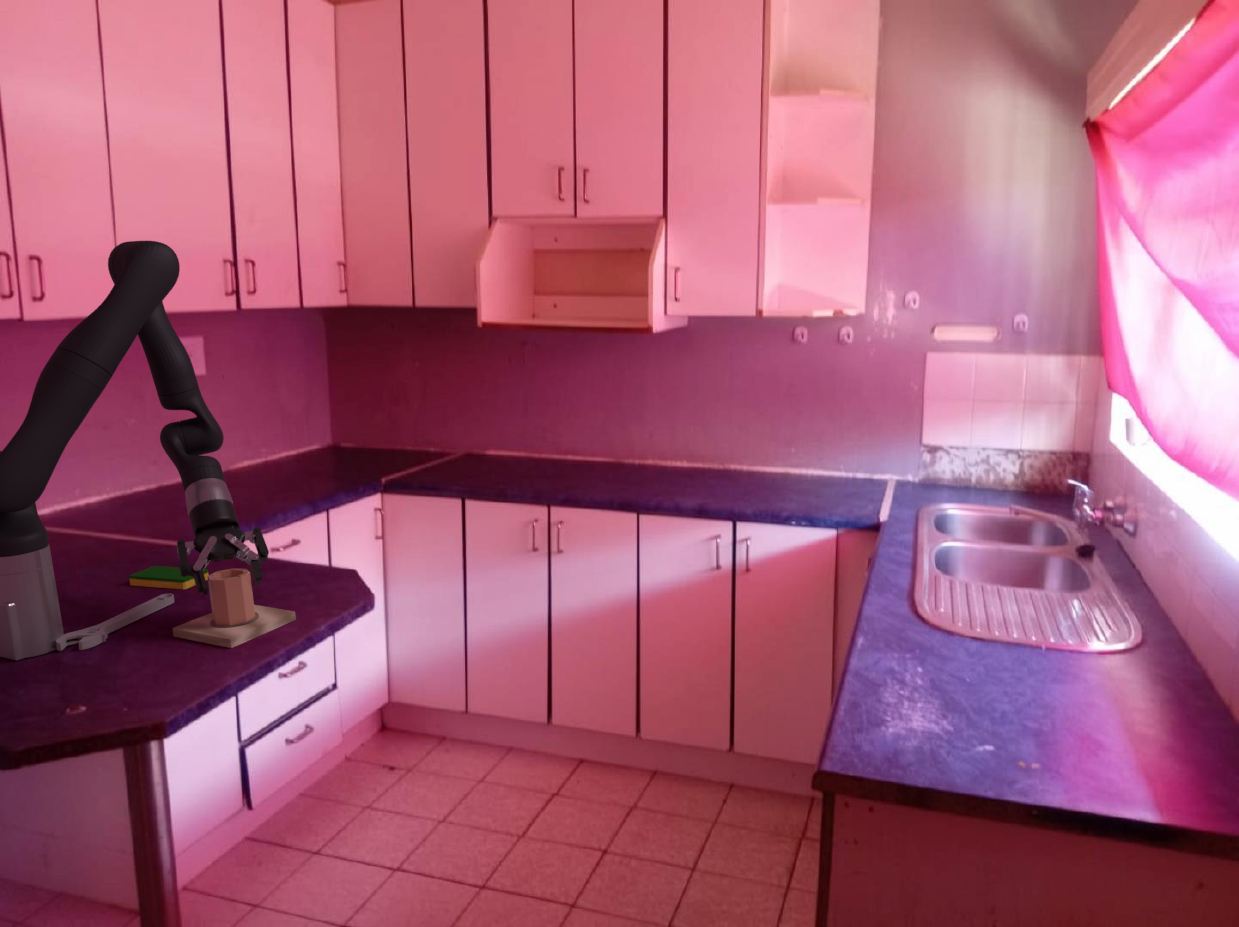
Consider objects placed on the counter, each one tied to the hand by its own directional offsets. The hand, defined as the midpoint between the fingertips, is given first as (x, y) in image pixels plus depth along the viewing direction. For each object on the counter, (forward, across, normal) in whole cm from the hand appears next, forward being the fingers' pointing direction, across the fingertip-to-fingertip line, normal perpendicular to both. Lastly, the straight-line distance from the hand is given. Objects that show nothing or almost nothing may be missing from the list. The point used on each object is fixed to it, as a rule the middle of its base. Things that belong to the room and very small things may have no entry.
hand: (232, 587), depth 163 cm
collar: (+3, 0, +5) cm, 6 cm away
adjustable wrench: (-5, -16, +16) cm, 24 cm away
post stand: (+4, 0, +6) cm, 8 cm away
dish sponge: (-21, -5, +33) cm, 40 cm away
